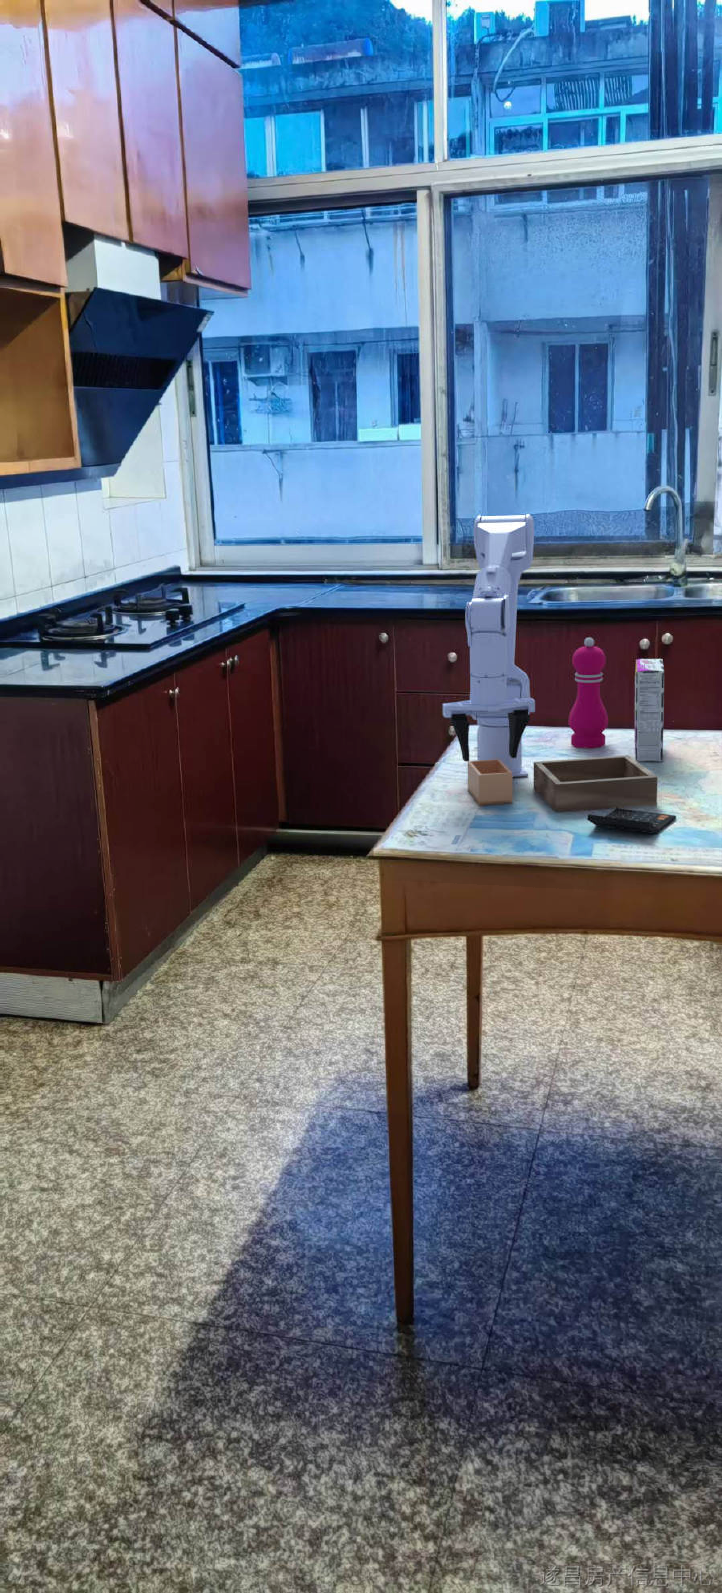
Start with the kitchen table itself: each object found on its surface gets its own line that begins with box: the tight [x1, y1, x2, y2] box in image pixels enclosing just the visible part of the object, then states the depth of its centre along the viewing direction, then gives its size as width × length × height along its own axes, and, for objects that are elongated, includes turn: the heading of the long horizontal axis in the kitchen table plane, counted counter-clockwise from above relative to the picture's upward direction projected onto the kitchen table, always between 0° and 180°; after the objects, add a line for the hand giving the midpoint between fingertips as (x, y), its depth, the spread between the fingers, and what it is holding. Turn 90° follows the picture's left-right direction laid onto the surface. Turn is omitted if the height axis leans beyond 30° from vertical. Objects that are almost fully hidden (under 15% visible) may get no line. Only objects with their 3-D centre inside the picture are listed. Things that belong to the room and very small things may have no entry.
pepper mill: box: [568, 637, 609, 749], centre depth 231 cm, size 7×7×20 cm
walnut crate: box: [533, 754, 658, 813], centre depth 201 cm, size 14×16×4 cm
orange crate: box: [466, 759, 514, 807], centre depth 203 cm, size 9×5×5 cm, turn 7°
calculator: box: [586, 808, 677, 835], centre depth 186 cm, size 9×12×3 cm
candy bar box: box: [634, 658, 665, 763], centre depth 223 cm, size 11×5×16 cm, turn 168°
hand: (489, 758), depth 202 cm, fingers open, 7 cm apart
